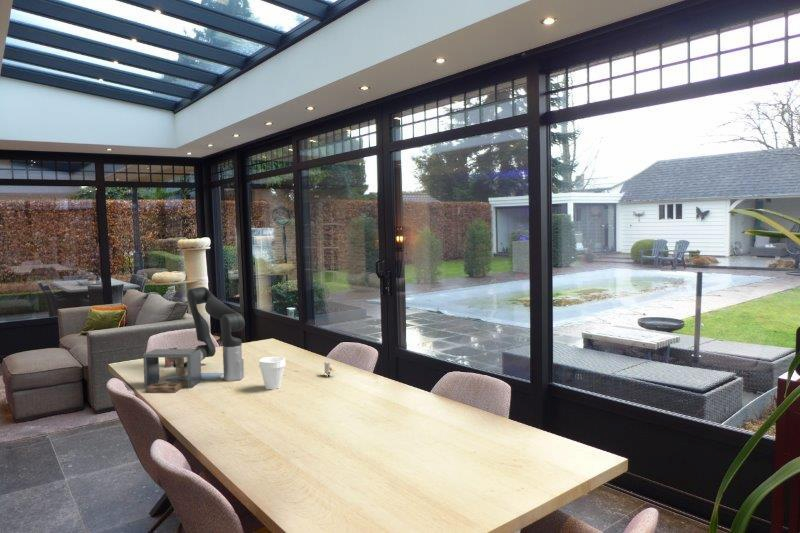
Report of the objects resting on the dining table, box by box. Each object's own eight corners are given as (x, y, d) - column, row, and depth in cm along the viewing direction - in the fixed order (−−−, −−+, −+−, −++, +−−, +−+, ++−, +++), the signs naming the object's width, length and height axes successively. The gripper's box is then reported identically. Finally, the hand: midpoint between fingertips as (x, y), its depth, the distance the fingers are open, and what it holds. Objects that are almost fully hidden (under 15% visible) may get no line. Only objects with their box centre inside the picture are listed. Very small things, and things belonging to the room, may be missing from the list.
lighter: (166, 367, 312) (166, 349, 311) (163, 366, 314) (162, 349, 313) (180, 364, 318) (179, 347, 318) (176, 363, 321) (176, 346, 320)
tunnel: (201, 381, 282) (200, 348, 281) (191, 388, 270) (190, 354, 269) (156, 381, 283) (155, 349, 282) (144, 388, 271) (143, 354, 270)
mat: (224, 373, 296) (224, 372, 296) (216, 379, 284) (216, 378, 284) (176, 373, 298) (176, 372, 298) (166, 379, 286) (166, 378, 286)
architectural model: (330, 374, 293) (330, 360, 293) (335, 377, 287) (335, 363, 286) (324, 375, 292) (324, 361, 291) (329, 378, 285) (328, 364, 285)
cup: (279, 391, 262) (279, 362, 261) (255, 390, 264) (254, 362, 263) (290, 384, 274) (289, 357, 273) (266, 383, 276) (265, 356, 275)
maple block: (188, 374, 288) (187, 353, 288) (184, 377, 284) (183, 355, 283) (179, 374, 289) (178, 353, 288) (175, 377, 284) (175, 355, 283)
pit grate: (181, 388, 270) (181, 383, 269) (175, 392, 263) (174, 387, 262) (153, 388, 270) (153, 383, 270) (145, 392, 263) (145, 387, 263)
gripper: (180, 350, 300) (165, 358, 283) (206, 350, 300) (193, 358, 283) (180, 364, 301) (165, 372, 284) (206, 364, 300) (193, 372, 283)
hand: (179, 365), depth 283 cm, fingers closed on maple block, 4 cm apart
